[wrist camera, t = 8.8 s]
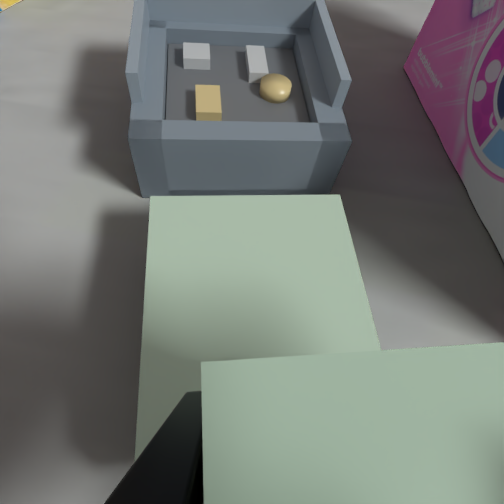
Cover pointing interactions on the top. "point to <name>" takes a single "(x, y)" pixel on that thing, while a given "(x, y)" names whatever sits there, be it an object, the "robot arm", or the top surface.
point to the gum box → (466, 96)
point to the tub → (236, 97)
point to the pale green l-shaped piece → (305, 364)
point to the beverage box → (7, 4)
